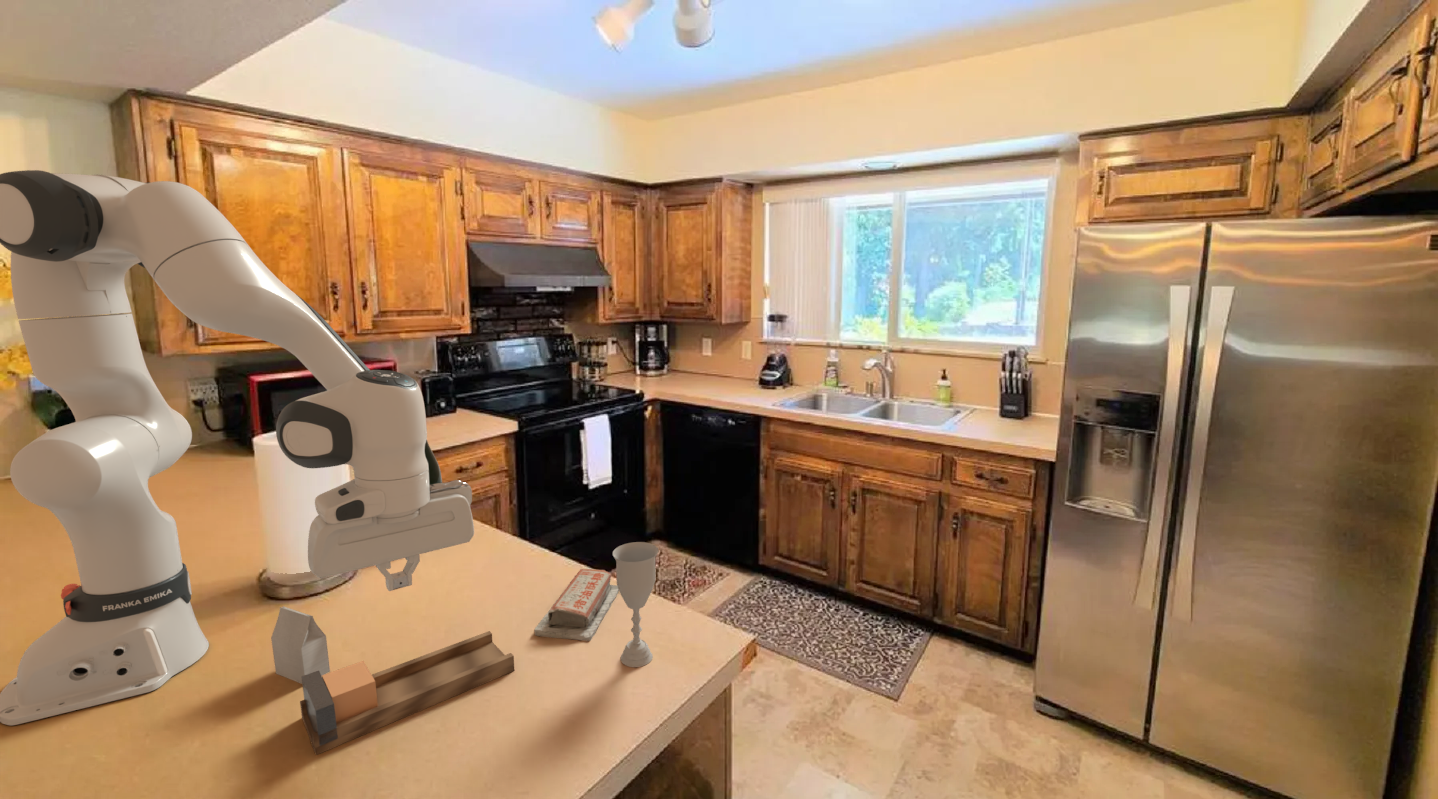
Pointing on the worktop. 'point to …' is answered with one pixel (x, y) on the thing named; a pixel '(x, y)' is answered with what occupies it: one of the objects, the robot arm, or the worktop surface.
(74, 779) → the worktop surface
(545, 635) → the packaged product
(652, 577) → the chalice
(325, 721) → the end stop
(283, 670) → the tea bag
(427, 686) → the track
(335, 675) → the orange block
